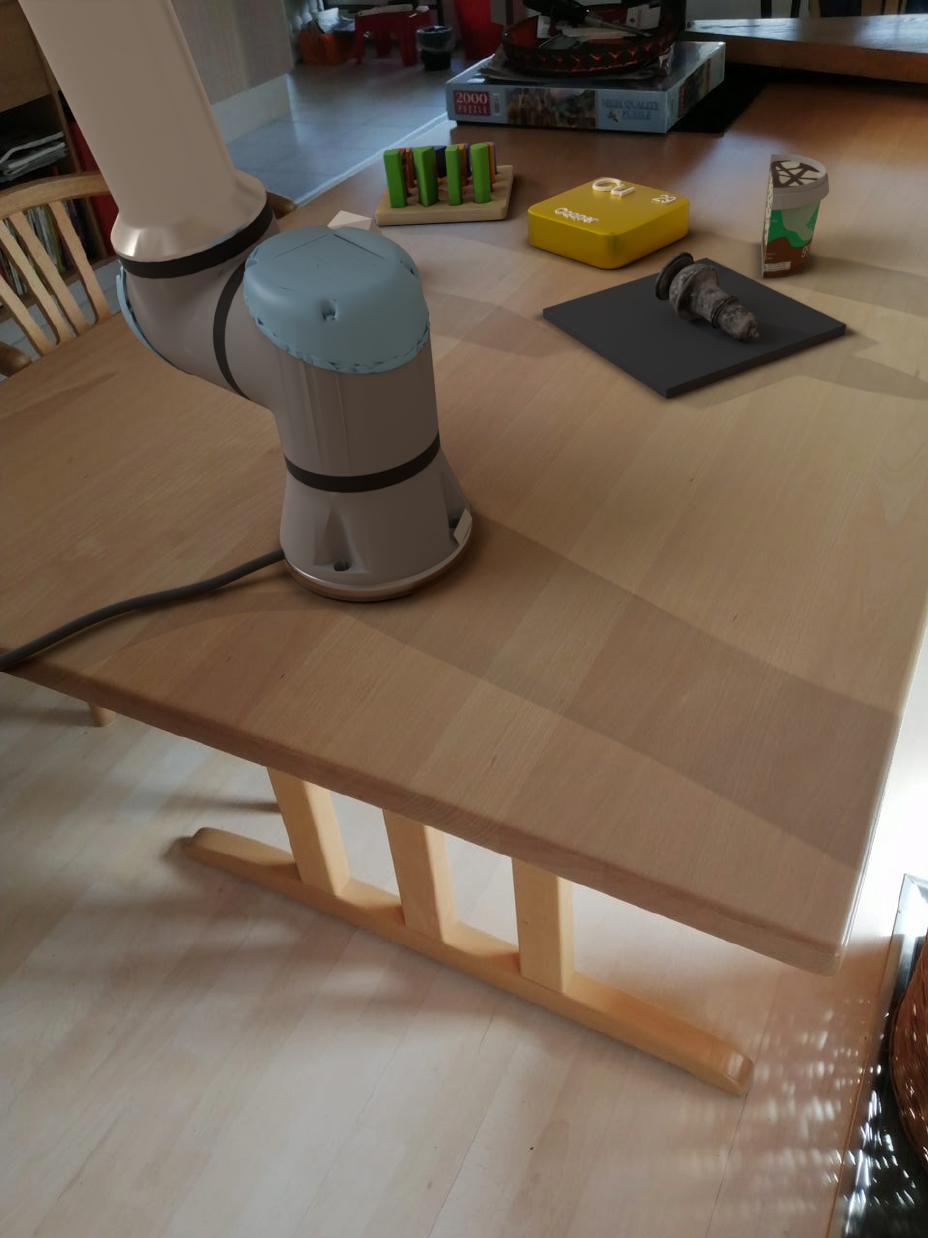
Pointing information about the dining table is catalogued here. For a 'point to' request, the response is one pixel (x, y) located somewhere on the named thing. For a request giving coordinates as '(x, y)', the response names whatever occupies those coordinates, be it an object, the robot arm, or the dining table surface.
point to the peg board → (444, 185)
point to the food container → (791, 212)
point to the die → (353, 222)
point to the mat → (688, 331)
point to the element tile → (608, 222)
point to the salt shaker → (703, 297)
